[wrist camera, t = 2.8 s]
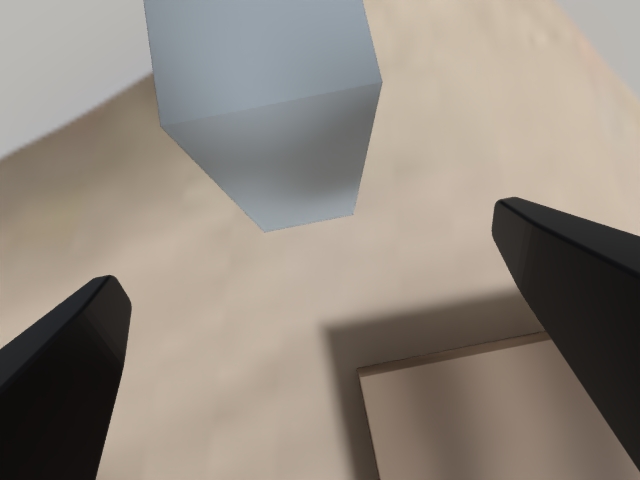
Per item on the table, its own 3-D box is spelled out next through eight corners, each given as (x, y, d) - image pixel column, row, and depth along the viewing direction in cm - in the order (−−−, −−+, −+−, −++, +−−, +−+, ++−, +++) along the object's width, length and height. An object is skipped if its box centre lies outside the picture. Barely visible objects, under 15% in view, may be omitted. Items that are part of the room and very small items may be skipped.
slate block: (264, 232, 21) (160, 126, 9) (249, 148, 22) (134, -64, 9) (353, 214, 21) (382, 81, 9) (335, 131, 22) (336, -104, 9)
